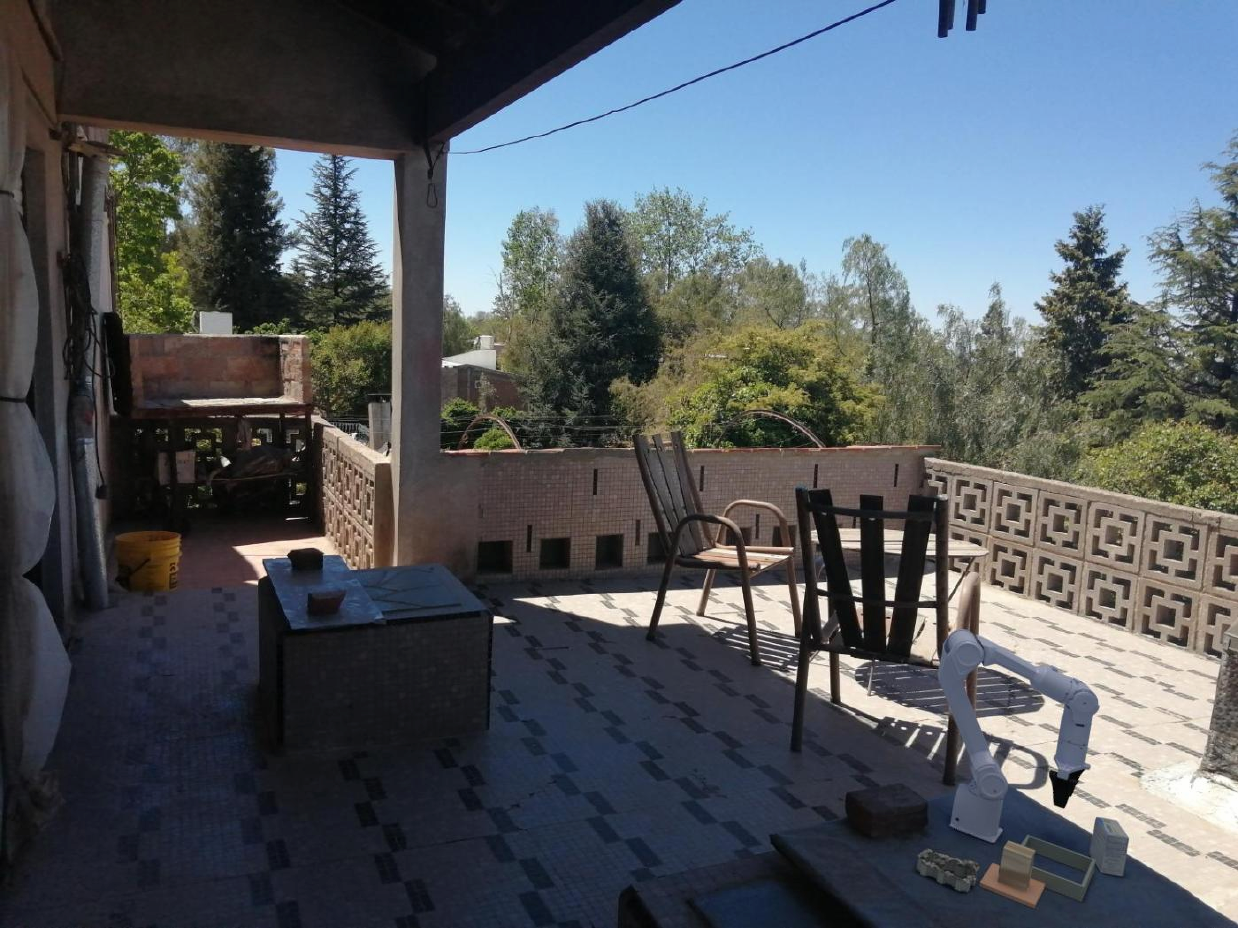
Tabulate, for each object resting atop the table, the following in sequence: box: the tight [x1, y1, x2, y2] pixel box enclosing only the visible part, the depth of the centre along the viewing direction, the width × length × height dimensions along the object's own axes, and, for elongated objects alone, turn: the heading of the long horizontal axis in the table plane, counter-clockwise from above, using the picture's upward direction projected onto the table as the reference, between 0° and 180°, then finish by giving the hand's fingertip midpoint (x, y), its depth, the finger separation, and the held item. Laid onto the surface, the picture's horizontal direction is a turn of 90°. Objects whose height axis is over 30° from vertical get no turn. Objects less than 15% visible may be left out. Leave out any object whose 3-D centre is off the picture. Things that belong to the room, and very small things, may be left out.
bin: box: [1020, 834, 1096, 903], centre depth 186 cm, size 13×14×3 cm
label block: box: [998, 840, 1036, 893], centre depth 179 cm, size 4×5×7 cm
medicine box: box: [1088, 816, 1130, 878], centre depth 192 cm, size 8×4×9 cm, turn 168°
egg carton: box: [916, 848, 981, 893], centre depth 180 cm, size 11×8×4 cm
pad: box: [979, 863, 1046, 909], centre depth 179 cm, size 10×10×1 cm
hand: (1062, 800), depth 197 cm, fingers open, 7 cm apart
